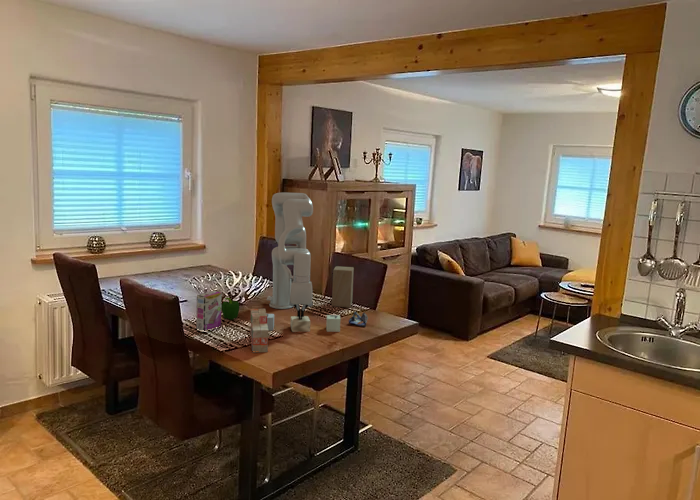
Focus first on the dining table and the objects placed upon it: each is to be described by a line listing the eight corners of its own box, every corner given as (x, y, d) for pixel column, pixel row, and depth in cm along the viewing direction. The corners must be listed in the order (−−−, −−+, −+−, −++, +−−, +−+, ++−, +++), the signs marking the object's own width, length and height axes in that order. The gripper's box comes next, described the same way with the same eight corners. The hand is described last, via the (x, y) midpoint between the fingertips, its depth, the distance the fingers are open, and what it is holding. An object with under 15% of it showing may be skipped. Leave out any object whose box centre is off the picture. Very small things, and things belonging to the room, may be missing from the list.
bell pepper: (243, 317, 259) (243, 297, 258) (232, 321, 252) (232, 300, 250) (228, 314, 263) (229, 294, 261) (218, 318, 255) (218, 298, 254)
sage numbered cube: (326, 331, 244) (327, 318, 243) (326, 327, 250) (326, 314, 249) (340, 331, 244) (340, 318, 243) (339, 327, 250) (339, 314, 249)
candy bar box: (204, 333, 233) (204, 296, 230) (195, 331, 235) (195, 295, 233) (222, 327, 243) (222, 291, 240) (213, 325, 245) (213, 290, 243)
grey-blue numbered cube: (259, 330, 241) (259, 317, 240) (260, 326, 247) (261, 313, 246) (273, 330, 242) (273, 317, 241) (273, 326, 248) (274, 313, 247)
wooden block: (352, 303, 295) (353, 267, 292) (350, 307, 285) (352, 270, 282) (334, 301, 296) (335, 265, 293) (331, 306, 286) (333, 269, 283)
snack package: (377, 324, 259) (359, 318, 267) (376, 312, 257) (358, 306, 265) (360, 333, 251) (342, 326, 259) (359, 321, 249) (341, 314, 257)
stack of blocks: (268, 352, 214) (268, 322, 212) (252, 353, 213) (252, 322, 211) (264, 335, 235) (265, 307, 233) (250, 335, 234) (250, 308, 232)
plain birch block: (292, 332, 241) (292, 321, 240) (290, 326, 249) (290, 316, 248) (310, 331, 243) (310, 321, 242) (307, 326, 251) (308, 316, 250)
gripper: (284, 280, 238) (283, 320, 241) (318, 281, 239) (317, 321, 242) (285, 276, 245) (284, 315, 248) (318, 277, 246) (316, 316, 249)
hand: (300, 318), depth 245 cm, fingers closed
